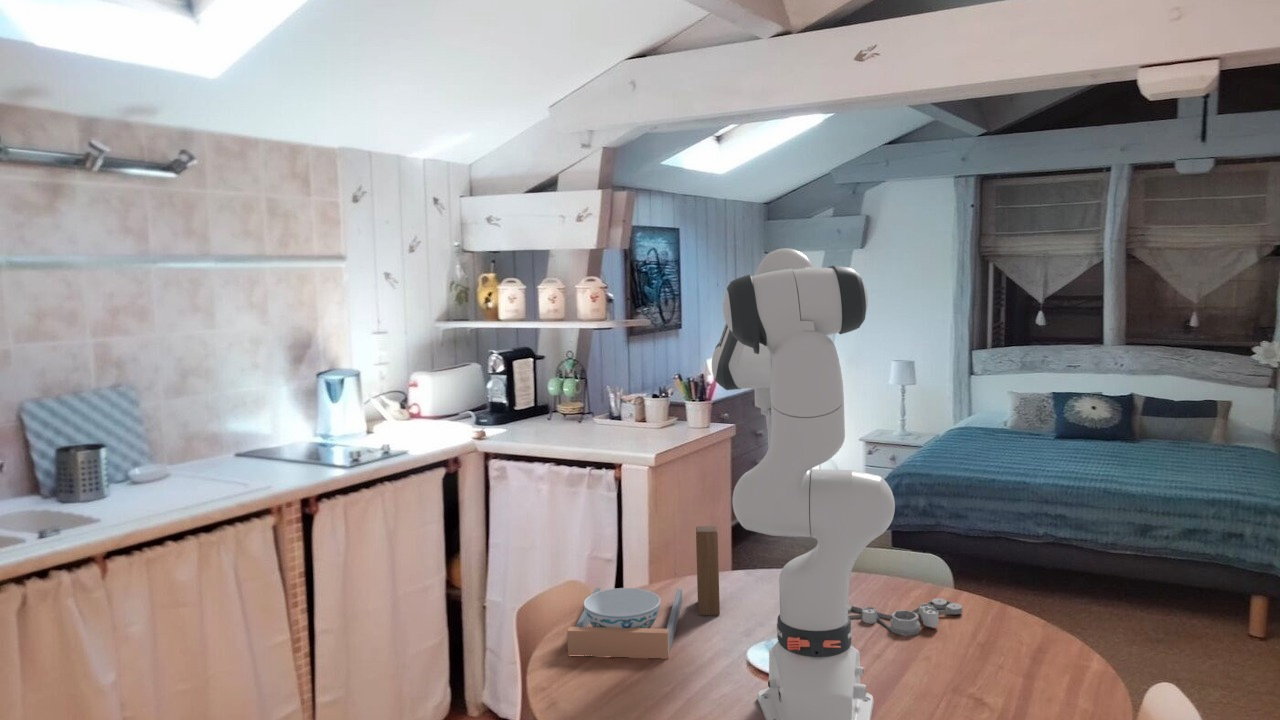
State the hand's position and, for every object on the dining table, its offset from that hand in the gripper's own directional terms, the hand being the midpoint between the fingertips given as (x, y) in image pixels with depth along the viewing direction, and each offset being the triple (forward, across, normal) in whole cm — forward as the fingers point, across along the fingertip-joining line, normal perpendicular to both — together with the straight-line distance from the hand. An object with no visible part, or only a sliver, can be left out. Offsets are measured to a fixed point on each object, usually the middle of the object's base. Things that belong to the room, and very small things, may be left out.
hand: (777, 463), depth 190 cm
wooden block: (+31, -1, +15) cm, 35 cm away
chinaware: (+31, -18, +31) cm, 48 cm away
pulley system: (+32, -6, -24) cm, 40 cm away
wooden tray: (+31, -12, +30) cm, 45 cm away
